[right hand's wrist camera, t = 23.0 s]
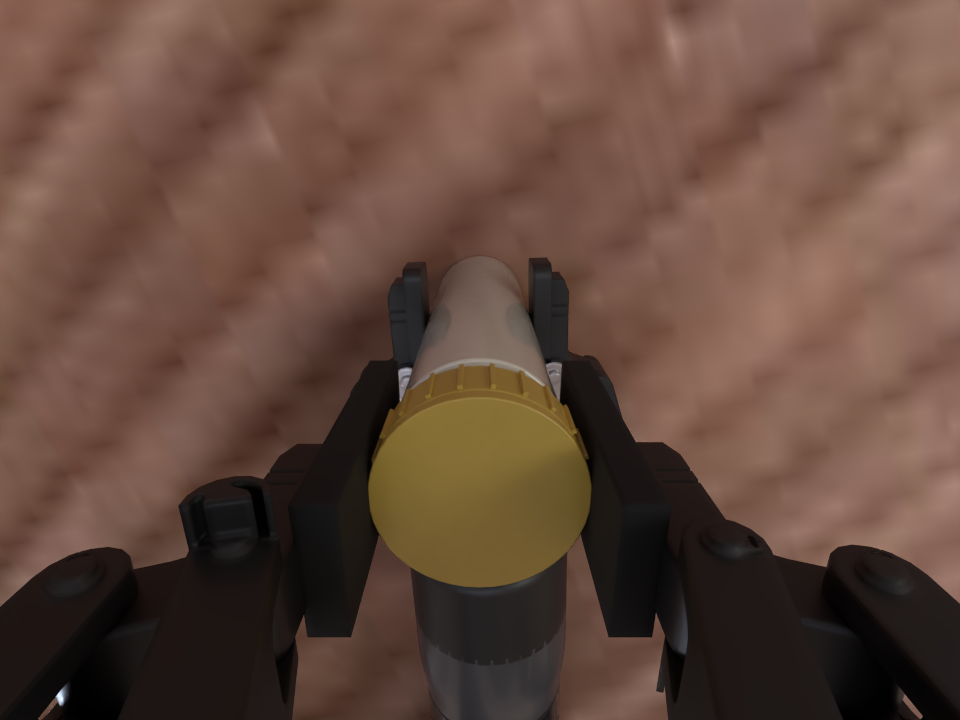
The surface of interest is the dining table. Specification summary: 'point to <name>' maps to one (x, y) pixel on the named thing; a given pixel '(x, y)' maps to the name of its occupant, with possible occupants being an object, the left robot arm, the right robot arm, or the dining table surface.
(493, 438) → the lid
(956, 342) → the dining table surface
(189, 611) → the right robot arm
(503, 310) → the beige bottle
